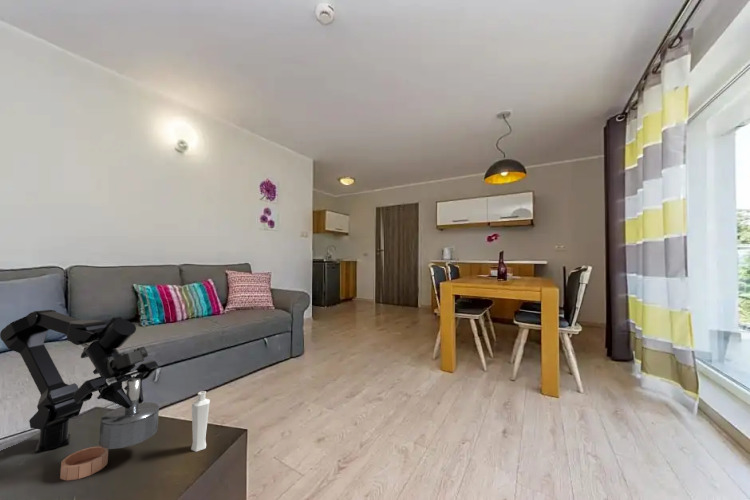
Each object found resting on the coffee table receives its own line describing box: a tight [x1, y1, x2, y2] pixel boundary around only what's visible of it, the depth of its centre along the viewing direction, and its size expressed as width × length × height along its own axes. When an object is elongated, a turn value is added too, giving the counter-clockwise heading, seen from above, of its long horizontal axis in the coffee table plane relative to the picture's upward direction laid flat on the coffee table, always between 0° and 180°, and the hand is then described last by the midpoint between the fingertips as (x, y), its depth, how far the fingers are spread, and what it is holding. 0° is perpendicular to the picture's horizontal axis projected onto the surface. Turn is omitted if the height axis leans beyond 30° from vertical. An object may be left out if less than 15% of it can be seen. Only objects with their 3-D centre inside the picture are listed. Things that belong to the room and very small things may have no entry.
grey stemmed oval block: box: [98, 378, 160, 450], centre depth 81 cm, size 12×12×14 cm
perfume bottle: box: [190, 390, 211, 452], centre depth 86 cm, size 5×4×15 cm
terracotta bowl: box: [59, 445, 109, 481], centre depth 76 cm, size 8×8×3 cm
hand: (136, 404), depth 81 cm, fingers closed on grey stemmed oval block, 3 cm apart
